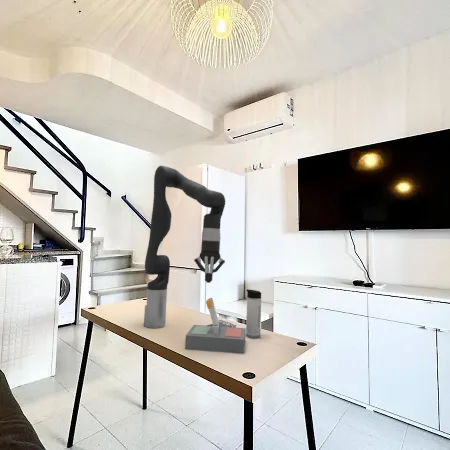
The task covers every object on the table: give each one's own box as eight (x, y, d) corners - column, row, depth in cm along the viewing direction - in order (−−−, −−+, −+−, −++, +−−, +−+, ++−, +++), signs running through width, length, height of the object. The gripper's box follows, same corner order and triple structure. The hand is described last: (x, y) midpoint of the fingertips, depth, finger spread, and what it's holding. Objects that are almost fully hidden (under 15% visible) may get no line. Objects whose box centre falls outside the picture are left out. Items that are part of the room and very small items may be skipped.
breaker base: (185, 348, 106) (186, 327, 106) (193, 336, 120) (194, 317, 120) (243, 353, 103) (244, 331, 104) (245, 340, 117) (245, 320, 118)
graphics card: (220, 318, 138) (236, 324, 129) (220, 326, 138) (236, 332, 129) (191, 324, 128) (206, 330, 119) (191, 333, 128) (206, 340, 118)
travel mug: (244, 333, 126) (245, 288, 127) (258, 333, 127) (259, 288, 128) (246, 338, 120) (247, 290, 121) (261, 338, 121) (262, 291, 122)
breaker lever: (213, 329, 109) (205, 301, 110) (216, 324, 115) (208, 298, 116) (217, 328, 109) (209, 300, 110) (219, 323, 115) (212, 297, 116)
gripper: (193, 238, 112) (190, 282, 111) (226, 240, 110) (223, 285, 110) (196, 238, 119) (194, 280, 119) (227, 240, 118) (225, 282, 117)
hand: (208, 282), depth 114 cm, fingers closed
